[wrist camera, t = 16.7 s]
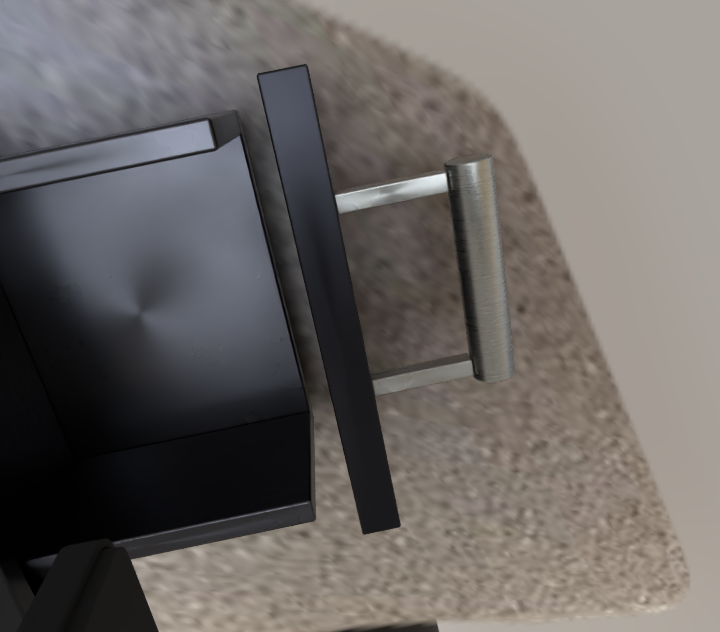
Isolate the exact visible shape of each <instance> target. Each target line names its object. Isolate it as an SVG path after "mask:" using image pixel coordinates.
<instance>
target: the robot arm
mask: <svg viewBox="0 0 720 632" xmlns="http://www.w3.org/2000/svg"><path fill="white" fill-rule="evenodd" d="M16 632H159V631H158V629H157V626H156V624H155V621H154V618H153V616H152V613H151V611H150V608H149V606H148V603H147V600H146V598H145V595H144V593H143V590H142V588H141V585H140V583H139V580H138V577H137V575H136V572H135V570H134V567H133V565H132V562H131V559H130V557H129V554H128V552H127V550H126V549H125V548H124V547H115V546H114V545H113V543H112V542H111V541H110V540H109V539H99V540H94V541H89V542H84V543H78V544H73V545H68V546H65V547H63V548H62V549H61V550H60V552H59V553H58V554H57V556H56V558H55V560H54V562H53V564H52V566H51V568H50V569H49V571H48V573H47V575H46V577H45V579H44V581H43V583H42V584H41V586H40V588H39V590H38V592H37V594H36V596H35V598H34V600H33V601H32V603H31V605H30V607H29V609H28V611H27V613H26V615H25V616H24V618H23V620H22V622H21V624H20V626H19V628H18V630H17V631H16Z"/></svg>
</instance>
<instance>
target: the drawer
mask: <svg viewBox="0 0 720 632" xmlns="http://www.w3.org/2000/svg"><path fill="white" fill-rule="evenodd" d="M257 80H258V84H259V89H260V93H261V97H262V102H263V106H264V110H265V114H266V119H267V123H268V127H269V132H270V136H271V140H272V145H273V149H274V153H275V158H276V162H277V166H278V171H279V175H280V179H281V184H282V188H283V192H284V196H285V201H286V205H287V209H288V214H289V218H290V222H291V227H292V231H293V235H294V240H295V244H296V248H297V253H298V257H299V261H300V266H301V270H302V274H303V278H304V283H305V287H306V291H307V296H308V300H309V304H310V309H311V313H312V317H313V322H314V326H315V330H316V335H317V339H318V343H319V347H320V352H321V356H322V360H323V365H324V369H325V373H326V378H327V382H328V386H329V391H330V395H331V399H332V404H333V408H334V412H335V417H336V421H337V425H338V429H339V434H340V438H341V442H342V447H343V451H344V455H345V460H346V464H347V468H348V473H349V477H350V481H351V486H352V490H353V494H354V499H355V503H356V507H357V511H358V516H359V520H360V524H361V529H362V533H363V534H364V535H365V534H370V533H374V532H379V531H384V530H389V529H393V528H398V527H400V526H401V524H400V519H399V514H398V509H397V504H396V499H395V494H394V489H393V484H392V480H391V475H390V470H389V465H388V460H387V455H386V450H385V445H384V440H383V435H382V430H381V425H380V420H379V415H378V410H377V405H376V400H375V396H379V395H384V394H389V393H393V392H398V391H403V390H408V389H413V388H418V387H422V386H427V385H432V384H437V383H442V382H446V381H451V380H456V379H461V378H466V377H471V376H473V377H474V378H475V379H476V380H478V381H480V382H485V383H497V382H502V381H505V380H507V379H509V378H511V377H512V376H513V375H514V373H515V362H514V352H513V343H512V333H511V324H510V314H509V305H508V296H507V286H506V277H505V267H504V258H503V248H502V239H501V230H500V220H499V211H498V201H497V192H496V182H495V173H494V164H493V157H492V155H491V154H473V155H466V156H461V157H457V158H453V159H450V160H448V161H446V162H445V163H444V170H436V171H431V172H427V173H422V174H417V175H412V176H407V177H402V178H397V179H392V180H387V181H382V182H377V183H372V184H368V185H363V186H358V187H353V188H348V189H343V190H338V191H334V192H333V188H332V183H331V178H330V173H329V168H328V163H327V158H326V153H325V148H324V143H323V139H322V134H321V129H320V124H319V119H318V114H317V109H316V104H315V99H314V94H313V89H312V84H311V79H310V74H309V69H308V66H307V64H303V65H298V66H293V67H288V68H283V69H278V70H273V71H268V72H263V73H258V74H257ZM442 193H448V200H449V208H450V215H451V222H452V230H453V237H454V245H455V252H456V259H457V267H458V274H459V282H460V289H461V296H462V304H463V311H464V319H465V326H466V334H467V341H468V348H469V355H468V353H465V354H460V355H455V356H450V357H445V358H440V359H436V360H431V361H426V362H421V363H416V364H411V365H407V366H402V367H397V368H392V369H387V370H382V371H378V372H373V373H370V371H369V366H368V361H367V356H366V351H365V346H364V341H363V336H362V331H361V326H360V321H359V316H358V311H357V307H356V302H355V297H354V292H353V287H352V282H351V277H350V272H349V267H348V262H347V257H346V252H345V247H344V242H343V237H342V232H341V227H340V223H339V218H338V214H344V213H349V212H354V211H359V210H364V209H368V208H373V207H378V206H383V205H388V204H393V203H398V202H403V201H408V200H413V199H418V198H422V197H427V196H432V195H437V194H442ZM315 520H316V495H315V447H314V416H313V412H312V408H311V404H310V400H309V396H308V392H307V388H306V384H305V380H304V376H303V371H302V367H301V363H300V359H299V355H298V351H297V347H296V343H295V339H294V335H293V331H292V327H291V323H290V319H289V315H288V311H287V307H286V303H285V298H284V294H283V290H282V286H281V282H280V278H279V274H278V270H277V266H276V262H275V258H274V254H273V250H272V246H271V242H270V238H269V234H268V230H267V225H266V221H265V217H264V213H263V209H262V205H261V201H260V197H259V193H258V189H257V185H256V181H255V177H254V173H253V169H252V165H251V161H250V157H249V153H248V148H247V144H246V140H245V136H244V132H243V128H242V124H241V120H240V116H239V112H238V110H231V111H226V112H221V113H216V114H211V115H206V116H201V117H196V118H191V119H186V120H181V121H176V122H171V123H166V124H161V125H156V126H152V127H147V128H142V129H137V130H132V131H127V132H122V133H117V134H112V135H107V136H102V137H97V138H92V139H87V140H82V141H77V142H72V143H67V144H62V145H57V146H52V147H47V148H42V149H37V150H32V151H27V152H22V153H17V154H12V155H8V156H3V157H0V528H1V530H2V532H3V534H4V536H5V538H6V540H7V543H8V545H9V547H10V549H11V551H12V553H13V555H14V557H15V559H16V561H17V563H18V565H19V567H20V569H21V571H22V573H23V575H24V577H25V579H26V581H31V580H35V579H40V578H45V577H46V575H47V573H48V571H49V569H50V568H51V566H52V564H53V562H54V560H55V558H56V556H57V554H58V553H59V552H60V550H61V549H62V548H63V547H65V546H68V545H73V544H78V543H84V542H89V541H94V540H99V539H109V540H110V541H111V542H112V543H113V545H114V546H115V547H124V548H125V549H126V550H127V552H128V554H129V557H130V559H136V558H141V557H145V556H150V555H155V554H160V553H164V552H169V551H174V550H179V549H184V548H188V547H193V546H198V545H203V544H208V543H212V542H217V541H222V540H227V539H231V538H236V537H241V536H246V535H251V534H255V533H260V532H265V531H270V530H274V529H279V528H284V527H289V526H294V525H298V524H303V523H308V522H313V521H315Z"/></svg>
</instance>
